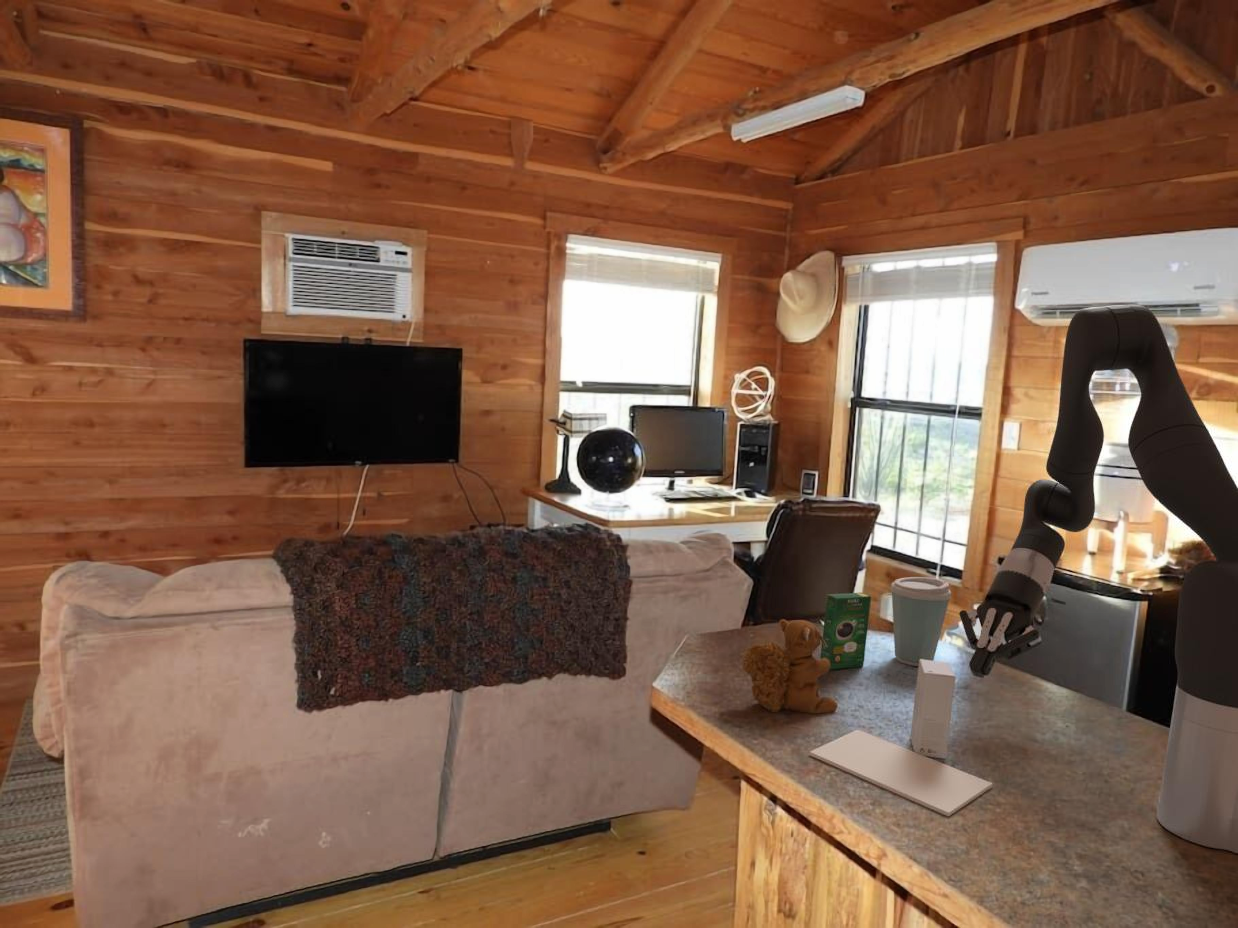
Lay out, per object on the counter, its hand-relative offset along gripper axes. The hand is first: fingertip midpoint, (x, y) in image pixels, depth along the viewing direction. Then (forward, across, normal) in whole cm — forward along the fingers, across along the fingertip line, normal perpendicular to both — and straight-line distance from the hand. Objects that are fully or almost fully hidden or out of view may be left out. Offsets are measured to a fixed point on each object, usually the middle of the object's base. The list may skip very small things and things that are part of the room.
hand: (976, 674), depth 135 cm
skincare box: (+15, 0, -4) cm, 16 cm away
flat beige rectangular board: (+22, +1, -11) cm, 25 cm away
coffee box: (+2, -26, +9) cm, 28 cm away
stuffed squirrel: (+18, -22, -7) cm, 29 cm away
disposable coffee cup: (-8, -20, +19) cm, 29 cm away
